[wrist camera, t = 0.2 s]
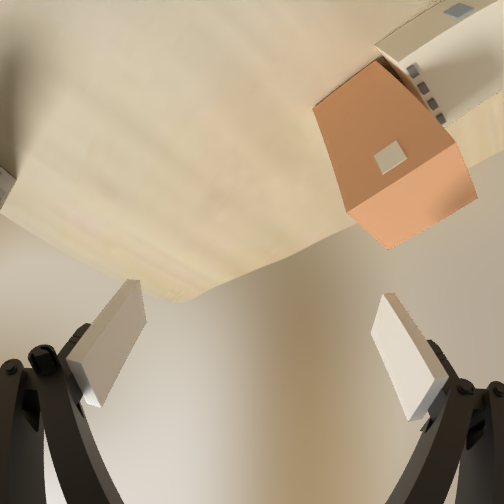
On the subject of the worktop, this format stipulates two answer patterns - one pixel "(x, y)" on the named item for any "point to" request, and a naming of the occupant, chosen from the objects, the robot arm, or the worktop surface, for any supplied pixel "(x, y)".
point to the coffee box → (5, 185)
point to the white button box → (450, 56)
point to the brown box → (391, 157)
